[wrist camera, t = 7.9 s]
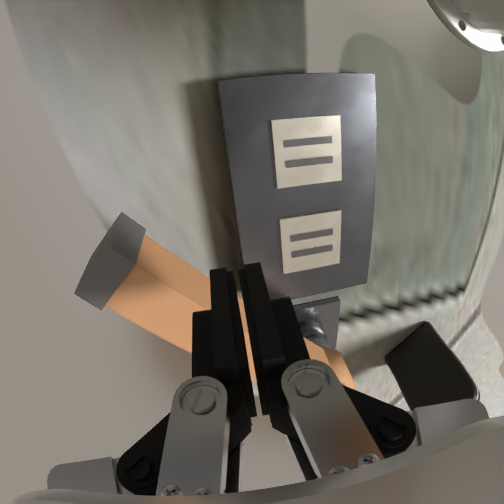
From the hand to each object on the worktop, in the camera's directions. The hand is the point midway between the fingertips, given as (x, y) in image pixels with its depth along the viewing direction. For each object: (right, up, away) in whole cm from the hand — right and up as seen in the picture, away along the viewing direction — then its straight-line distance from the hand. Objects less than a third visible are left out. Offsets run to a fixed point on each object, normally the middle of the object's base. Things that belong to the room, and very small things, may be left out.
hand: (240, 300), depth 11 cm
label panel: (+4, +6, +10) cm, 12 cm away
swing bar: (0, -3, +10) cm, 10 cm away
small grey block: (+5, -5, +17) cm, 18 cm away
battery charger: (+18, -9, +21) cm, 30 cm away
